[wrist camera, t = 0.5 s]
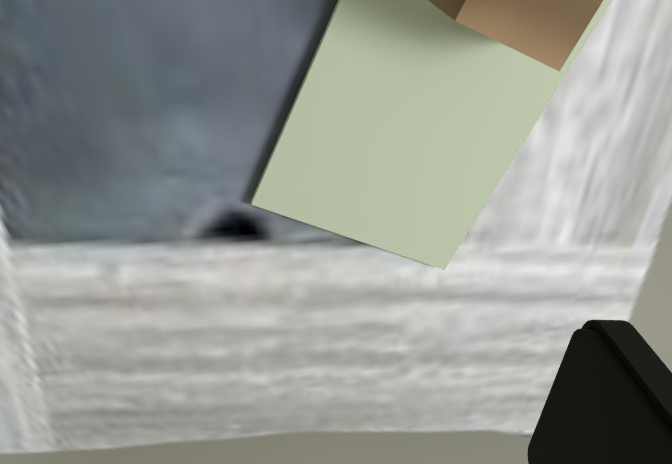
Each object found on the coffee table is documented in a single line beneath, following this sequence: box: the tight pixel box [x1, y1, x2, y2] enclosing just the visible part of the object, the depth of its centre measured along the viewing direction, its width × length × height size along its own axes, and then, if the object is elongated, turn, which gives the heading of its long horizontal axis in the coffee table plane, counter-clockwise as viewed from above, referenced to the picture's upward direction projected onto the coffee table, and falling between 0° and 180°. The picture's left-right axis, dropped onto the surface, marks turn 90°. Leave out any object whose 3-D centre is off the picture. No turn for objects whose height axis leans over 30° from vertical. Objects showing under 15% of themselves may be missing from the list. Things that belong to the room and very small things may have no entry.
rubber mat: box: [251, 0, 612, 270], centre depth 36 cm, size 23×14×1 cm, turn 155°
